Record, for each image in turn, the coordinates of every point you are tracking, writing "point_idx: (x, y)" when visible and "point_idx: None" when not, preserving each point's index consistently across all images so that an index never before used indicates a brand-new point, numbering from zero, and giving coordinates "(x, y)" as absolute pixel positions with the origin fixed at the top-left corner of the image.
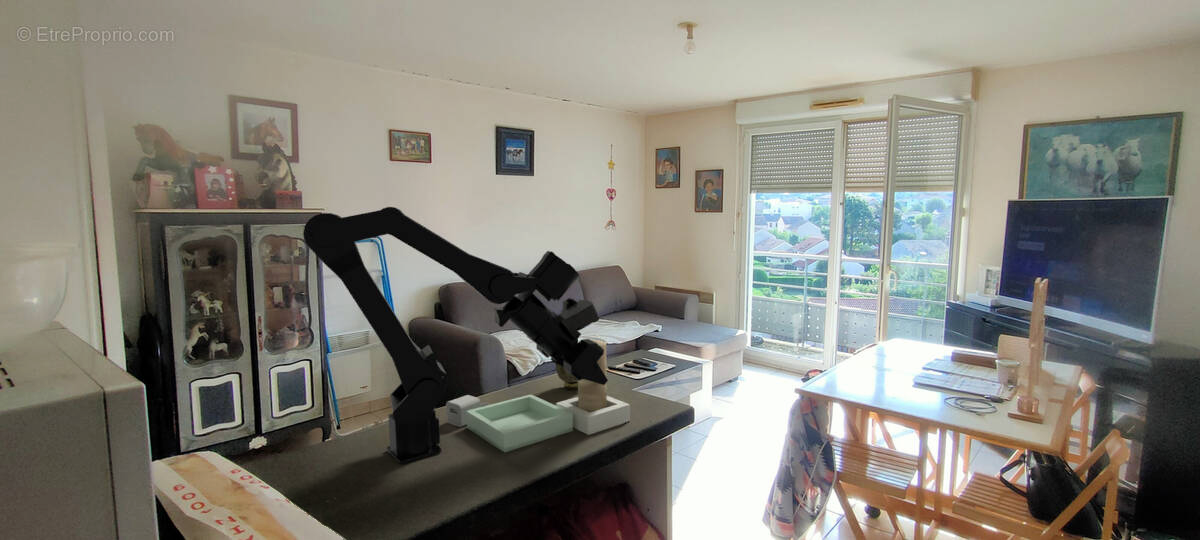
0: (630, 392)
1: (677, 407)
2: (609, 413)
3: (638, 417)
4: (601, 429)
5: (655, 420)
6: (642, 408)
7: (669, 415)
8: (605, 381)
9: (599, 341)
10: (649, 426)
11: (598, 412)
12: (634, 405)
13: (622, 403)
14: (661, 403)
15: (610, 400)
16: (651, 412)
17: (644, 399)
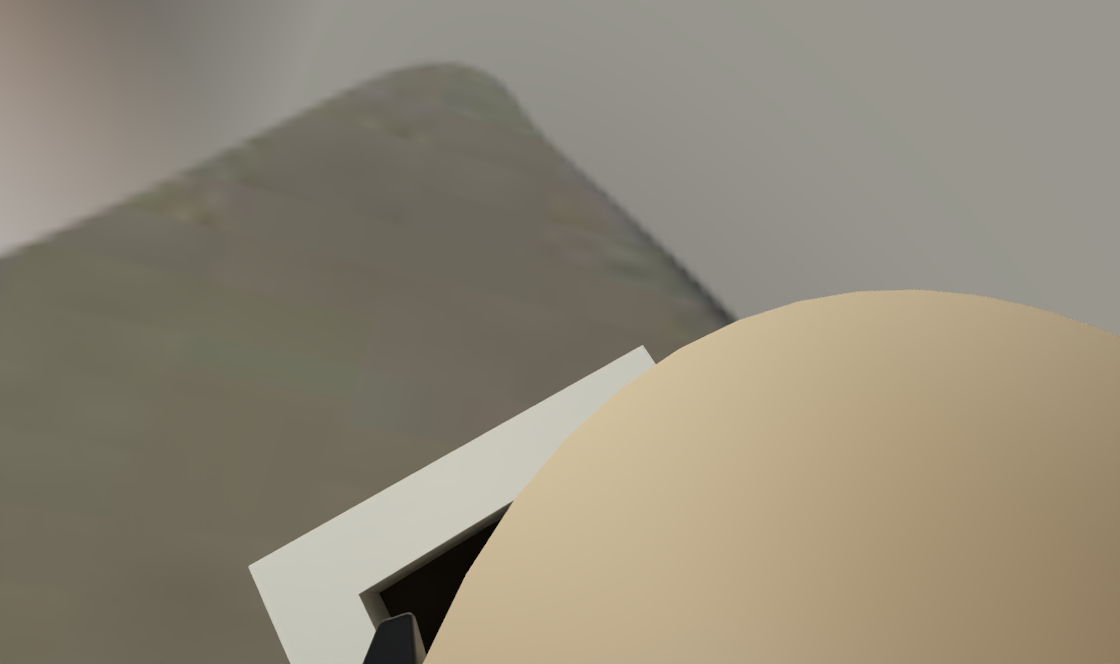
0: (43, 254)
1: (444, 82)
2: None
3: (558, 319)
4: None
5: (620, 242)
6: (407, 259)
7: (557, 155)
8: None
9: (677, 485)
10: (704, 295)
11: None
12: (336, 292)
13: (613, 392)
14: (352, 136)
15: (528, 474)
16: (490, 228)
17: (240, 205)
